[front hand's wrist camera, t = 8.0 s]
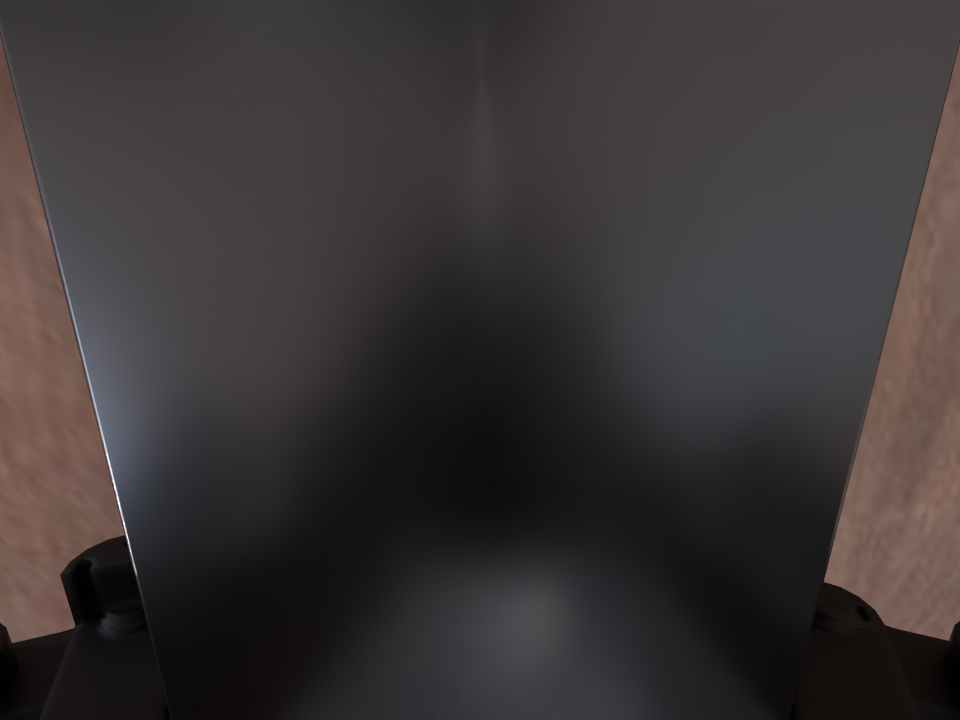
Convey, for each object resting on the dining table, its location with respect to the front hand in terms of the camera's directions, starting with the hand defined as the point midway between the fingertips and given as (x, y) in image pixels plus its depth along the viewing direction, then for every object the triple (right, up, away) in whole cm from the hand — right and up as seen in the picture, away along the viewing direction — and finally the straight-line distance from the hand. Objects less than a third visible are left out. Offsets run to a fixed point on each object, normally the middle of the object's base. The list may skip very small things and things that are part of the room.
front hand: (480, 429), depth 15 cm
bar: (0, +7, -2) cm, 7 cm away
